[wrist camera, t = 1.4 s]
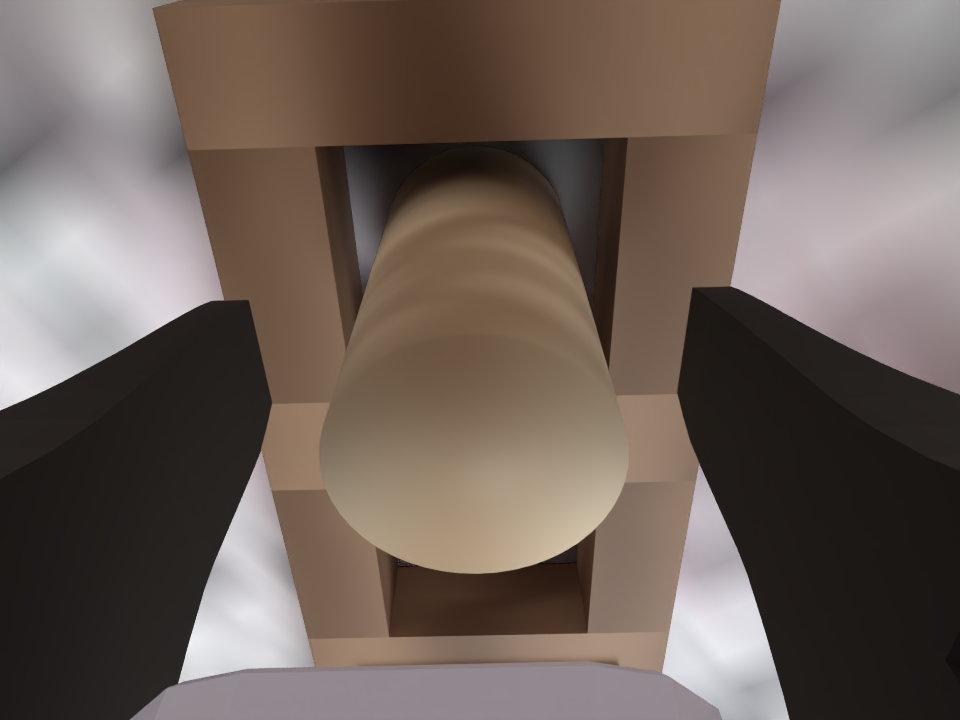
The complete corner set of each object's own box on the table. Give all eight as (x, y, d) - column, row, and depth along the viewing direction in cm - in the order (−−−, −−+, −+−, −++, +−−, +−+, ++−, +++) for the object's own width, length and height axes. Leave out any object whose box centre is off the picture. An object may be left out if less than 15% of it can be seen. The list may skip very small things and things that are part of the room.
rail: (734, -23, 13) (790, -11, 11) (623, 747, 27) (637, 827, 24) (204, -6, 13) (145, 10, 11) (363, 752, 27) (352, 832, 25)
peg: (568, 143, 15) (642, 329, 8) (561, 311, 17) (617, 571, 10) (379, 149, 15) (294, 338, 8) (396, 315, 17) (340, 576, 10)
